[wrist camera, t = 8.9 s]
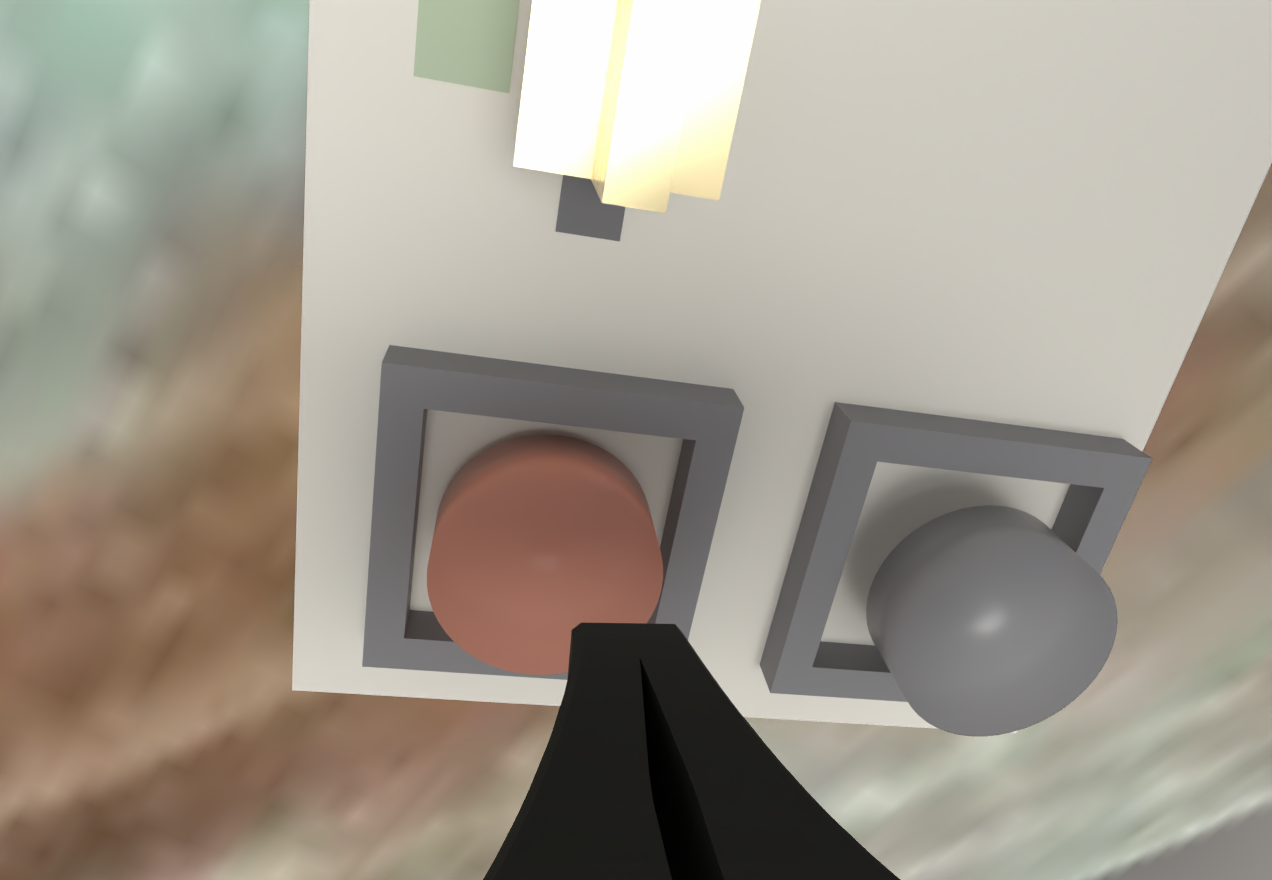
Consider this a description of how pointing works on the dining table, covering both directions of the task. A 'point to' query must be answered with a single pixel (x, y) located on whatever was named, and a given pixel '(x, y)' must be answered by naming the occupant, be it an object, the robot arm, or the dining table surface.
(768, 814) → the robot arm
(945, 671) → the grey button
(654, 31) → the brass slider
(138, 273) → the dining table surface
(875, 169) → the control board
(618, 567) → the red button
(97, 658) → the dining table surface
